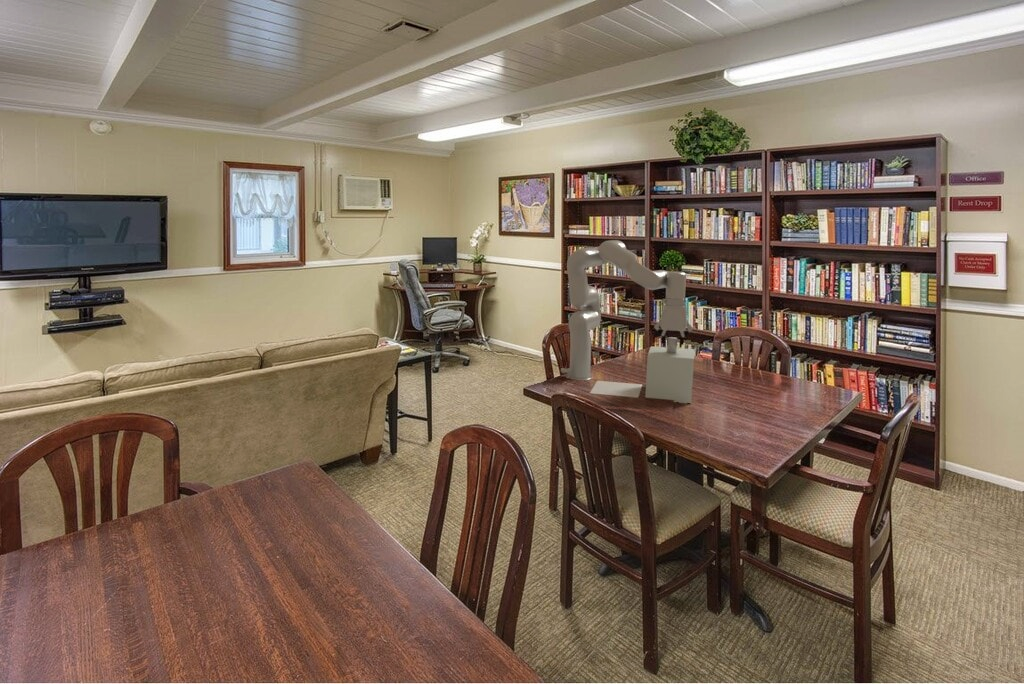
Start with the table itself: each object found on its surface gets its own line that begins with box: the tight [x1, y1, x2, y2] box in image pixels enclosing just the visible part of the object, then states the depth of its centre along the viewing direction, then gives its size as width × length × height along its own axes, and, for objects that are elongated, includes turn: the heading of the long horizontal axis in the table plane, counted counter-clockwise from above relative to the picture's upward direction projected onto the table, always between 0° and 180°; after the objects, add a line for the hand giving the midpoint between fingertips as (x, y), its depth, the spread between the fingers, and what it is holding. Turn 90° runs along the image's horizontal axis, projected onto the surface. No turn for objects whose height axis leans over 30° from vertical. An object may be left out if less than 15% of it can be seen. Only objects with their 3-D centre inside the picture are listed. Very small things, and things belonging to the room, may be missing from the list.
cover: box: [645, 336, 695, 405], centre depth 237 cm, size 18×18×25 cm
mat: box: [589, 380, 643, 398], centre depth 245 cm, size 20×20×1 cm
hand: (672, 345), depth 235 cm, fingers open, 6 cm apart
